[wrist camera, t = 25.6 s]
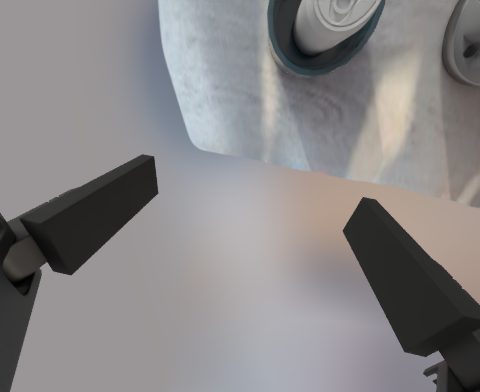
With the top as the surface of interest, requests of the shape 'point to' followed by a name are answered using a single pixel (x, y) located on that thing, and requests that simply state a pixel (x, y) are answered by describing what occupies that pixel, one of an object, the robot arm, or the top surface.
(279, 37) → the bowl
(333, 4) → the beverage can
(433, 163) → the top surface
